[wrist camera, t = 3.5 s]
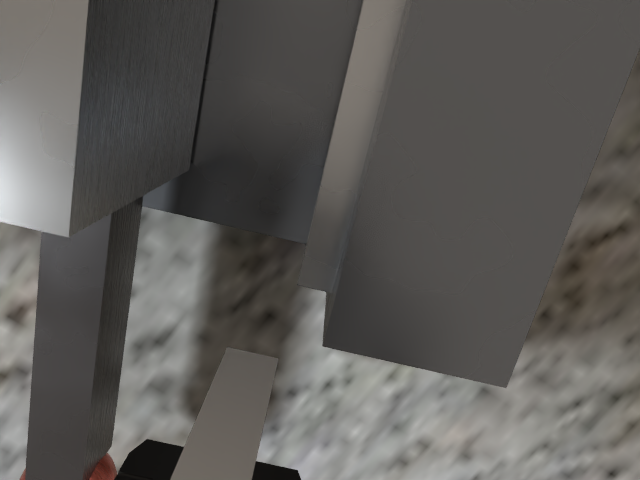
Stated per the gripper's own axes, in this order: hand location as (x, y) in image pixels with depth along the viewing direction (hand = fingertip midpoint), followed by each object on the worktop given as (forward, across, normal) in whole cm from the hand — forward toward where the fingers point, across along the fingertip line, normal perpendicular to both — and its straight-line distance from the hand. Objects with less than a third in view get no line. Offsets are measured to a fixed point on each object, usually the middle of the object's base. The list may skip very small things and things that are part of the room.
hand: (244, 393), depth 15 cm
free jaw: (+2, -5, +4) cm, 7 cm away
